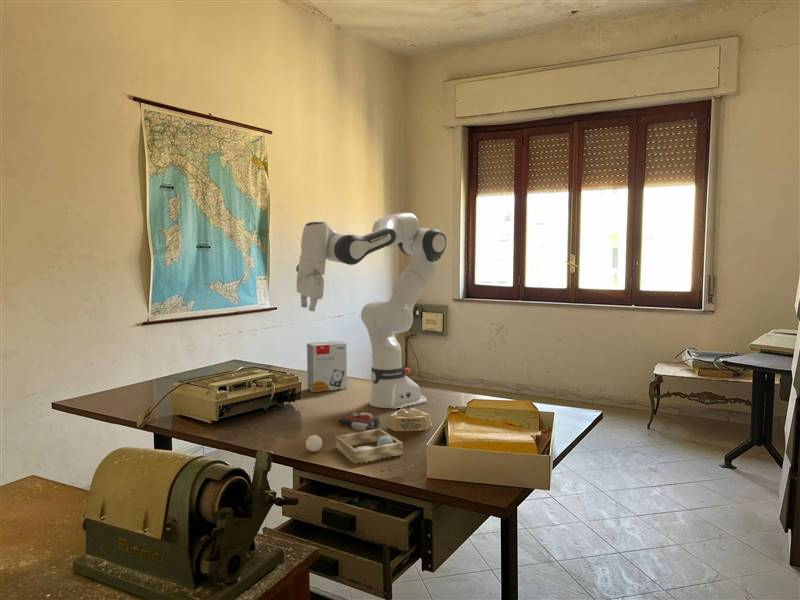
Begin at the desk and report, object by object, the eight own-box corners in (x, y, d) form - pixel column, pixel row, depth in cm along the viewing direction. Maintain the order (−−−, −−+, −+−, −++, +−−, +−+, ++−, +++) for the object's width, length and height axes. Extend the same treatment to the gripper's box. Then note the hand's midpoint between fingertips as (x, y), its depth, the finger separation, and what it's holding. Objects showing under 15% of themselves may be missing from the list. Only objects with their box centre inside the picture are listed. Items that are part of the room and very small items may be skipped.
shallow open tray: (380, 439, 177) (380, 428, 176) (403, 454, 163) (402, 442, 163) (335, 447, 170) (335, 436, 169) (355, 464, 156) (355, 452, 156)
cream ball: (319, 447, 170) (318, 431, 170) (324, 452, 166) (324, 436, 166) (303, 450, 168) (303, 434, 167) (309, 455, 164) (308, 439, 163)
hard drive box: (312, 393, 234) (310, 345, 232) (307, 389, 241) (306, 343, 239) (347, 389, 240) (346, 342, 239) (341, 385, 247) (340, 340, 246)
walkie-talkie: (334, 427, 190) (386, 436, 181) (334, 414, 190) (385, 422, 180) (348, 420, 198) (399, 428, 189) (348, 407, 198) (398, 415, 188)
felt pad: (369, 445, 171) (369, 444, 171) (377, 452, 166) (377, 451, 166) (350, 449, 168) (350, 448, 168) (358, 455, 163) (358, 454, 163)
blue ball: (388, 447, 169) (388, 432, 168) (396, 453, 165) (396, 437, 164) (374, 450, 167) (374, 435, 166) (381, 455, 162) (381, 439, 162)
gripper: (330, 272, 184) (325, 314, 185) (312, 267, 202) (308, 306, 203) (311, 270, 181) (307, 313, 182) (295, 266, 199) (291, 304, 201)
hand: (307, 309), depth 193 cm, fingers open, 8 cm apart
